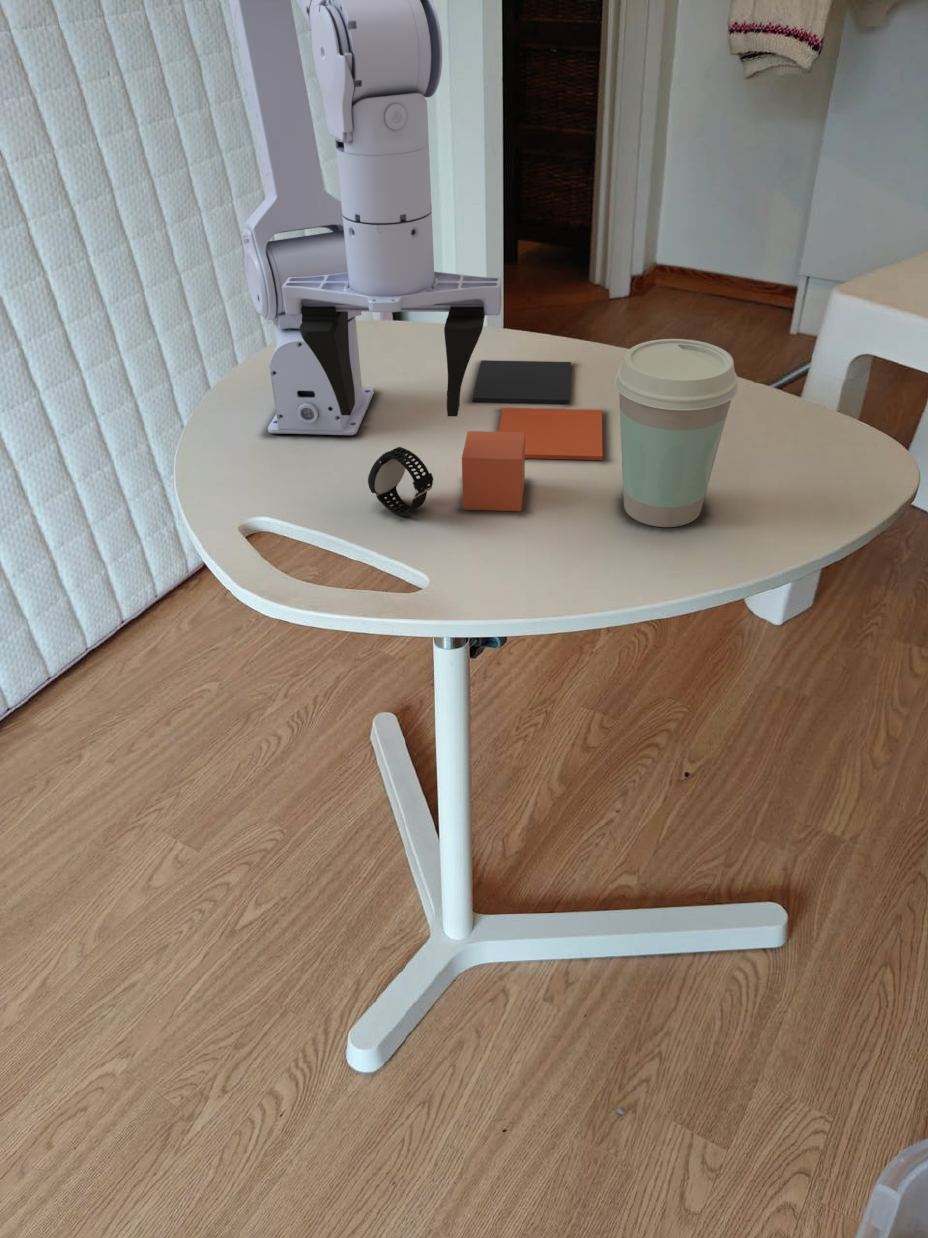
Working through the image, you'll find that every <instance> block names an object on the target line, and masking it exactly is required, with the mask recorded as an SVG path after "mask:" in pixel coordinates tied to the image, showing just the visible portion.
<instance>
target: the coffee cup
mask: <svg viewBox="0 0 928 1238" xmlns="http://www.w3.org/2000/svg"><path fill="white" fill-rule="evenodd" d="M738 382H739V378H738V374H737V373H736V370H735V362H734V358H733V357H732V355H731V353H729V352H727V351H726V350H725V349H723V348H721V347H720V346H717V345H714V344H711V343H708V342H704V341H700V340H694V339H686V338H662V339H661V338H660V339H654V340H653V339H652V340H649V341H643V342H641V343H639V344H636V345H634V346H632V347H630V348H629V349H628V350H627V351H626V352H625V355H624V357H623V360H622V362H621V365H620V366H619V367H618V369H617V372H616V377H615V380H614V386H615V388H616V390H617V391H618V396H619V399H618V401H619V422H620V424H619V425H620V426H619V427H620V445H621V446H620V447H621V448H620V449H621V471H622V472H621V473H622V490H623V491H622V492H623V495H622V496H623V509H624V511H625V512H626V514H627V515H628V516H629V517H630V518H632V519H633V520H635V521H637V522H638V523H642V524H644V525H647V526H651V527H659V528H674V527H681V526H684V525H689V524H690V523H692V522H694V521H695V520H696V519H698V517H700V515H701V511H702V508H703V503H704V501H705V497H706V494H707V490H708V487H709V484H710V479H711V475H712V472H713V468H714V465H715V461H716V458H717V453H718V450H719V446H720V443H721V439H722V435H723V432H724V427H725V424H726V420H727V417H728V413H729V410H730V406H731V402H732V399H733V398H735V396H736V395H737V394H738V392H739V385H738Z"/></svg>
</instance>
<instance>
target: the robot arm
mask: <svg viewBox="0 0 928 1238" xmlns="http://www.w3.org/2000/svg"><path fill="white" fill-rule="evenodd" d="M295 2H296V4H297V5H298V8H299V10H300V12H301V14H302V15H303V18H304V19H305V22H306V23H307V25H308V28H309V29H310V31H311V51H312V58H313V64H314V71H315V74H316V79H317V82H318V85H319V89H320V92H321V97H322V101H323V107H324V108H323V109H324V118H325V124H326V126H327V132H328V134H329V135H330V136H332V137H334V142H335V154H336V162H337V174H338V183H339V195H340V199H338V198H337V197H336V196H333V194H330V193H329V192H327V191H326V189H325V186H324V181H323V175H322V169H321V168H322V167H321V163H320V157H319V152H318V146H317V141H316V140H317V139H316V135H315V130H314V125H313V119H312V112H311V108H310V107H311V106H310V101H309V96H308V90H307V85H306V79H305V73H304V68H303V61H302V56H301V50H300V45H299V40H298V32H297V28H296V22H295V17H294V11H293V4H292V0H228V3H229V8H230V13H231V14H230V15H231V18H232V24H233V28H234V34H235V38H236V39H235V40H236V44H237V50H238V53H239V59H240V64H241V69H242V73H243V79H244V84H245V89H246V95H247V100H248V105H249V110H250V115H251V119H252V124H253V130H254V135H255V139H256V140H255V141H256V144H257V150H258V155H259V160H260V165H261V171H262V175H263V182H264V186H265V191H266V197H265V198H264V200H263V201H262V202H261V204H260V205H259V206H258V207H257V208H256V209H255V210H254V211H253V212H252V213H251V214H250V216H249V217H248V218H247V219H246V221H245V222H244V224H243V227H242V234H241V241H242V247H243V254H244V257H243V258H244V271H245V277H246V283H247V287H248V291H249V295H250V298H251V301H252V304H253V307H254V309H255V310H256V313H258V315H260V317H262V318H263V319H264V320H266V321H272V326H273V332H274V333H273V334H274V340H275V348H274V350H273V353H272V355H271V357H270V363H269V375H270V382H271V390H272V395H273V402H274V410H275V414H274V416H273V418H272V420H271V421H270V423H269V425H268V426H267V430H268V433H270V434H286V435H287V434H288V435H322V436H324V435H325V436H327V435H328V436H354V435H356V434H357V433H358V431H359V428H360V427H361V424H362V421H363V419H364V417H365V415H366V412H367V410H368V408H369V406H370V403H371V400H372V398H373V396H374V394H375V388H373V387H372V386H363V383H362V382H363V381H362V371H361V362H360V351H359V337H358V328H357V327H358V326H357V319H356V317H358V316H361V315H362V312H363V313H364V312H370V313H371V312H372V313H400V312H401V313H402V312H403V313H404V312H406V313H407V312H408V313H409V312H411V313H413V312H414V313H415V312H416V313H418V312H419V313H420V312H421V313H425V312H426V313H427V312H428V313H432V312H434V313H441V312H442V313H448V314H447V317H446V320H445V323H444V327H443V330H444V333H443V334H444V343H445V353H446V354H445V355H446V367H447V368H446V369H447V387H446V388H447V391H446V413H447V414H446V415H447V417H451V418H452V417H453V418H454V417H456V418H457V417H458V415H459V411H460V404H461V403H460V402H461V391H462V386H463V385H462V384H463V382H464V381H463V380H464V378H465V374H466V371H467V368H468V365H469V363H470V360H471V357H472V354H473V353H474V351H475V349H476V345H477V344H478V342H479V339H480V338H481V335H482V331H483V329H484V323H485V318H486V316H500V315H501V311H502V277H498V276H496V277H495V276H477V275H467V274H461V273H451V272H445V271H443V272H442V271H435V261H434V260H435V259H434V257H435V256H434V237H433V236H434V235H433V232H434V231H433V211H432V187H431V164H430V143H429V142H430V141H429V119H428V100H427V98H428V99H429V98H432V97H433V96H434V95H435V93H436V92H437V90H438V87H439V85H440V81H441V78H442V77H441V76H442V70H443V41H442V33H441V32H442V31H441V26H440V21H439V17H438V13H437V10H436V7H435V4H434V2H433V0H295ZM317 228H324V229H327V230H329V231H330V232H329V231H328V232H323V233H316V234H309V235H303V236H296V237H290V238H282V239H276V240H275V239H274V240H270V239H272V237H273V236H275V235H277V234H282V233H289V232H296V231H297V232H298V231H303V230H304V231H305V230H311V229H317Z"/></svg>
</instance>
